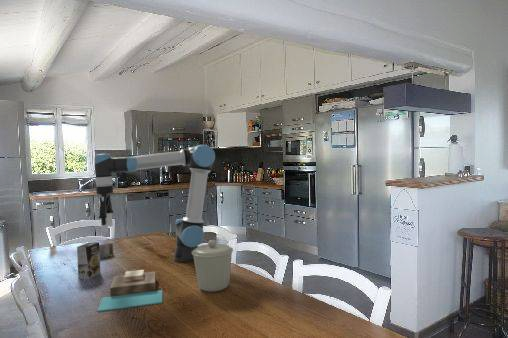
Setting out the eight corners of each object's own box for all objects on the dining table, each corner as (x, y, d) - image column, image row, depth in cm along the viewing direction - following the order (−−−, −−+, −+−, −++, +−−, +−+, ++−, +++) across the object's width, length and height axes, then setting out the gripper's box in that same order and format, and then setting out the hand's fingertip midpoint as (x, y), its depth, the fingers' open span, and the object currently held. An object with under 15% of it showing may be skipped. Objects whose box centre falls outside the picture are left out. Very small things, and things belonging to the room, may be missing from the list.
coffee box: (89, 279, 171) (87, 246, 171) (77, 279, 172) (76, 246, 172) (101, 273, 180) (99, 242, 179) (90, 273, 181) (88, 241, 181)
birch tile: (144, 273, 165) (143, 269, 164) (143, 279, 157) (143, 275, 157) (126, 275, 163) (125, 271, 162) (124, 281, 155) (124, 277, 155)
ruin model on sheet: (94, 260, 205) (93, 244, 205) (92, 259, 208) (91, 243, 207) (113, 256, 213) (113, 240, 212) (112, 255, 215) (111, 239, 215)
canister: (240, 282, 160) (238, 236, 160) (224, 297, 143) (222, 246, 143) (204, 278, 166) (203, 234, 166) (185, 293, 149) (183, 244, 148)
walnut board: (155, 279, 168) (155, 271, 168) (155, 291, 152) (154, 282, 152) (115, 284, 163) (115, 275, 163) (110, 297, 148) (110, 287, 148)
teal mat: (162, 291, 153) (162, 290, 153) (162, 303, 140) (162, 301, 140) (102, 298, 147) (102, 297, 147) (97, 311, 134) (97, 310, 134)
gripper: (101, 184, 183) (103, 224, 184) (90, 188, 159) (93, 234, 160) (116, 183, 185) (119, 223, 186) (108, 187, 161) (111, 233, 162)
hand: (107, 228), depth 173 cm, fingers open, 13 cm apart
